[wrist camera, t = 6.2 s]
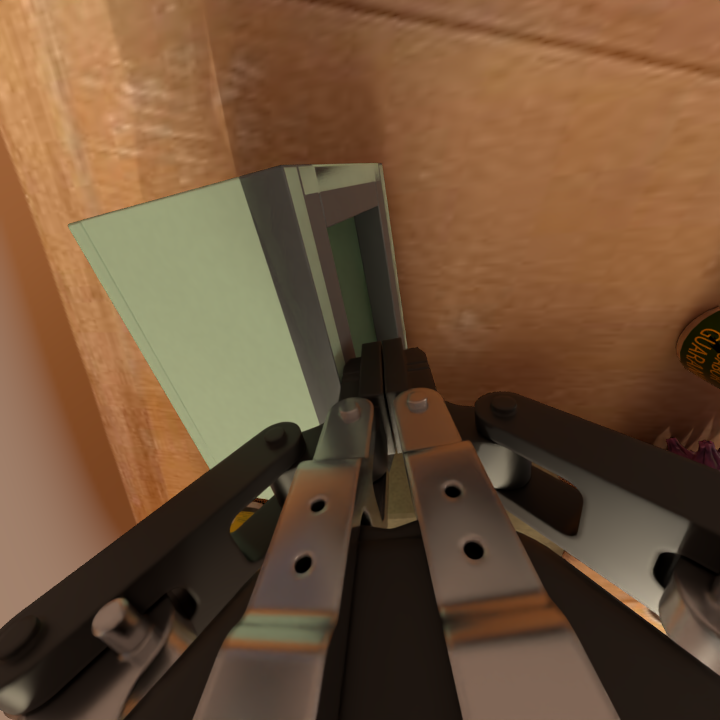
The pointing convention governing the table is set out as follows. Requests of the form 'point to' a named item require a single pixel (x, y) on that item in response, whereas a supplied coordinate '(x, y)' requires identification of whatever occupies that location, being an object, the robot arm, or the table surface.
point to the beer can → (702, 347)
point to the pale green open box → (253, 293)
